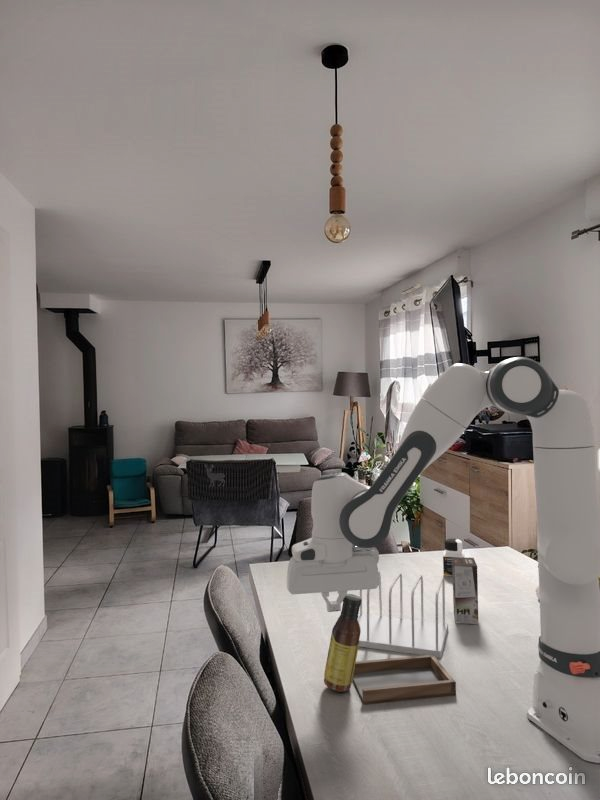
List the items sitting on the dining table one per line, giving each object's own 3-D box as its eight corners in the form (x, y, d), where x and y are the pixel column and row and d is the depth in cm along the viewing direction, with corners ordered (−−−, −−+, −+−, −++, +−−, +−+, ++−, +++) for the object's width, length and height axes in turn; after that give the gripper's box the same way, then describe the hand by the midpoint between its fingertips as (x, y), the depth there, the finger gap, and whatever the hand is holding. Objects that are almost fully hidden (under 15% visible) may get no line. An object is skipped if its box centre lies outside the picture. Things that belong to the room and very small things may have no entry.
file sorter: (341, 645, 145) (339, 585, 145) (358, 620, 162) (356, 565, 162) (441, 658, 137) (439, 594, 137) (448, 630, 153) (446, 572, 153)
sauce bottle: (333, 676, 128) (350, 589, 128) (356, 689, 124) (373, 599, 124) (316, 683, 123) (333, 592, 123) (338, 696, 119) (357, 603, 119)
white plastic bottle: (443, 575, 199) (442, 541, 199) (444, 569, 206) (443, 536, 206) (464, 577, 197) (463, 542, 197) (464, 571, 203) (463, 537, 203)
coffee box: (479, 624, 156) (477, 566, 156) (455, 623, 157) (453, 565, 157) (475, 612, 165) (474, 557, 164) (453, 611, 166) (451, 556, 166)
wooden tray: (456, 695, 119) (455, 681, 119) (363, 704, 117) (363, 690, 117) (433, 666, 132) (433, 654, 132) (350, 674, 130) (349, 662, 130)
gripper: (374, 541, 128) (376, 602, 128) (284, 546, 125) (286, 608, 125) (382, 548, 121) (383, 612, 121) (288, 554, 119) (289, 619, 119)
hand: (333, 610), depth 123 cm, fingers closed
